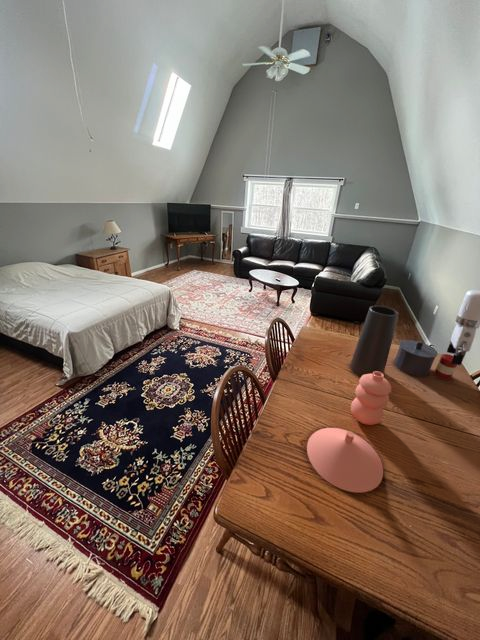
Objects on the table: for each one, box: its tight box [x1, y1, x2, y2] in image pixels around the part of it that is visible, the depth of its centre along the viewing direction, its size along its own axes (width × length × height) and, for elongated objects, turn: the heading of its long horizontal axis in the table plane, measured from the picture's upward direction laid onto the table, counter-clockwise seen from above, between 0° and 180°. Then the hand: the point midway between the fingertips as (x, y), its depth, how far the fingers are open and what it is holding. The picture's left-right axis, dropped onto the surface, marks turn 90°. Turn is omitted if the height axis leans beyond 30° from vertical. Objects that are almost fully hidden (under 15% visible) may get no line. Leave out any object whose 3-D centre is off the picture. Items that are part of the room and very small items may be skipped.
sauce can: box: [434, 353, 458, 381], centre depth 116 cm, size 6×6×9 cm
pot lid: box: [398, 339, 439, 359], centre depth 118 cm, size 15×15×4 cm
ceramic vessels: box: [306, 371, 392, 494], centre depth 79 cm, size 35×21×19 cm, turn 140°
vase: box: [349, 305, 400, 378], centre depth 112 cm, size 14×14×29 cm
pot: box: [393, 346, 436, 377], centre depth 120 cm, size 14×14×10 cm
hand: (453, 358), depth 113 cm, fingers open, 9 cm apart
